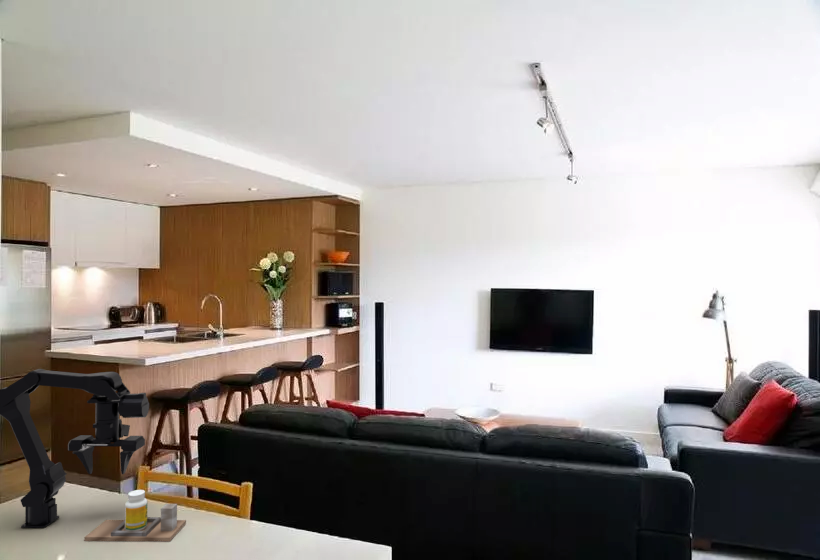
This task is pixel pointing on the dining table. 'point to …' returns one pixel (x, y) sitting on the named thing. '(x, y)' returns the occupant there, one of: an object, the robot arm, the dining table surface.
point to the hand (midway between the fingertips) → (106, 473)
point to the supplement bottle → (136, 511)
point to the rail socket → (155, 530)
